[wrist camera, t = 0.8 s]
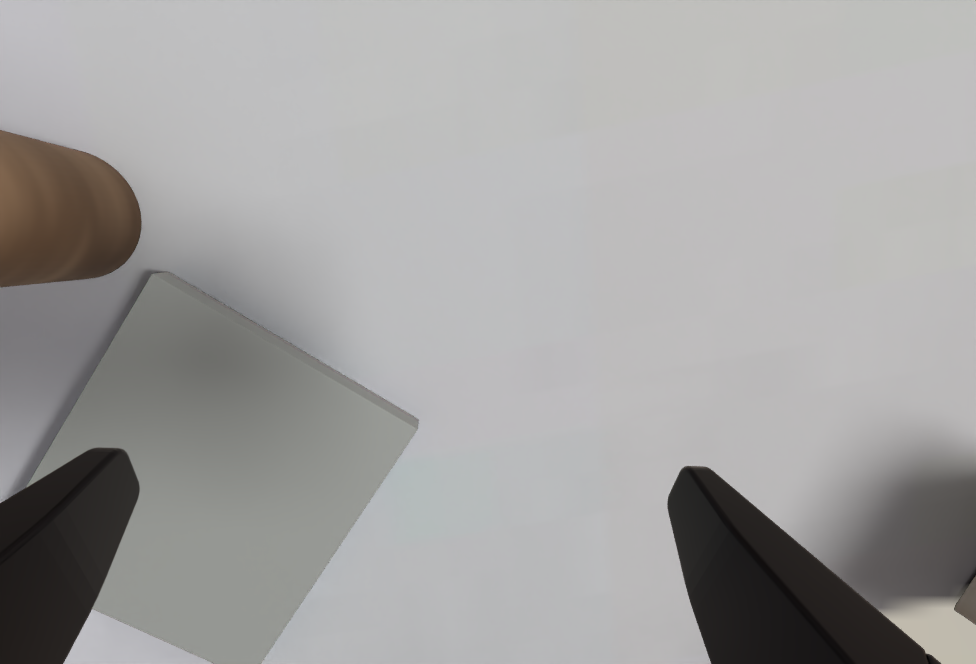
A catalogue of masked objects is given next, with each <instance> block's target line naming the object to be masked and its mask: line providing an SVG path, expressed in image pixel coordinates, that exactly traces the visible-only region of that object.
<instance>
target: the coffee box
mask: <svg viewBox="0 0 976 664" xmlns="http://www.w3.org/2000/svg"><path fill="white" fill-rule="evenodd" d="M954 610H955V611H956V612H958V613H959V614H961V615H963V616H964V617H965V618H967V619H968V620H970V621H971V622H973V623H974V624H976V575H975V577H974V579H973V580H972V581H971V583H970V584H969V586H968V587H967V589H966V590H965V592H964V593H963V595H962V596H961V598H960V599H959V601H958V602H957V603H956V605H955V608H954Z"/></svg>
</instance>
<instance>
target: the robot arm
mask: <svg viewBox="0 0 976 664" xmlns="http://www.w3.org/2000/svg"><path fill="white" fill-rule="evenodd" d="M139 493H140V485H139V481H138V478H137V476H136V473H135V471H134V468H133V466H132V463H131V461H130V458H129V456H128V454H127V452H126V451H125V450H123V449H121V448H103V447H97V448H92V449H89V450H87V451H86V452H84V453H82V454H81V455H79V456H77V457H76V458H74V459H72V460H71V461H69V462H67V463H66V464H64V465H63V466H61V467H59V468H58V469H56V470H54V471H53V472H51V473H49V474H48V475H46V476H45V477H43V478H41V479H40V480H38V481H36V482H35V483H33V484H31V485H30V486H28V487H26V488H25V489H23V490H22V491H20V492H18V493H17V494H15V495H13V496H12V497H10V498H8V499H7V500H5V501H4V502H2V503H0V664H63V663H64V661H65V659H66V657H67V656H68V654H69V652H70V650H71V648H72V646H73V644H74V642H75V640H76V638H77V637H78V635H79V633H80V631H81V629H82V627H83V625H84V623H85V621H86V620H87V618H88V616H89V614H90V612H91V610H92V608H93V606H94V604H95V602H96V600H97V598H98V596H99V593H100V591H101V589H102V586H103V584H104V582H105V580H106V577H107V575H108V572H109V570H110V567H111V565H112V562H113V560H114V557H115V555H116V552H117V550H118V547H119V545H120V542H121V540H122V537H123V535H124V533H125V530H126V528H127V525H128V523H129V520H130V518H131V515H132V513H133V510H134V508H135V505H136V503H137V500H138V497H139ZM667 505H668V512H669V517H670V521H671V525H672V529H673V534H674V538H675V542H676V546H677V551H678V555H679V559H680V563H681V568H682V572H683V576H684V581H685V585H686V588H687V592H688V596H689V599H690V602H691V605H692V609H693V612H694V615H695V618H696V621H697V623H698V626H699V629H700V632H701V635H702V638H703V641H704V644H705V647H706V650H707V653H708V656H709V658H710V661H711V664H941V663H940V662H939V661H938V660H936V659H935V658H934V657H933V656H932V655H930V654H926V653H925V650H924V649H923V648H922V647H921V646H920V645H918V644H917V643H916V642H915V641H914V640H912V639H911V638H910V637H909V636H908V635H907V634H905V633H904V632H903V631H902V630H901V629H899V628H898V627H897V626H896V625H895V624H893V623H892V622H891V621H890V620H889V619H888V618H886V617H885V616H884V615H883V614H882V613H881V612H879V611H878V610H877V609H876V608H875V607H873V606H872V605H871V604H870V603H869V602H868V601H866V600H865V599H864V598H863V597H862V596H860V595H859V594H858V593H857V592H856V591H855V590H853V589H852V588H851V587H850V586H849V585H847V584H846V583H845V582H844V581H843V580H842V579H840V578H839V577H838V576H837V575H836V574H834V573H833V572H832V571H831V570H830V569H828V568H827V567H826V566H825V565H824V564H823V563H821V562H820V561H819V560H818V559H817V558H815V557H814V556H813V555H812V554H811V553H810V552H808V551H807V550H806V549H805V548H804V547H802V546H801V545H800V544H799V543H798V542H797V541H795V540H794V539H793V538H792V537H791V536H789V535H788V534H787V533H786V532H785V531H783V530H782V529H781V528H780V527H779V526H778V525H776V524H775V523H774V522H773V521H772V520H770V519H769V518H768V517H767V516H766V515H765V514H763V513H762V512H761V511H760V510H759V509H757V508H756V507H755V506H754V505H753V504H752V503H750V502H749V501H748V500H747V499H746V498H744V497H743V496H742V495H741V494H740V493H739V492H737V491H736V490H735V489H734V488H733V487H731V486H730V485H729V484H728V483H727V482H725V481H724V480H723V479H722V478H721V477H720V476H718V475H717V474H716V473H715V472H714V471H712V470H711V469H709V468H707V467H702V466H685V467H684V468H682V469H681V471H680V473H679V475H678V477H677V479H676V481H675V483H674V485H673V488H672V490H671V492H670V494H669V497H668V504H667Z"/></svg>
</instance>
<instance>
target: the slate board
mask: <svg viewBox="0 0 976 664" xmlns="http://www.w3.org/2000/svg"><path fill="white" fill-rule="evenodd" d="M418 422H419V419H417V418H415V417H414V416H412V415H410V414H408V413H407V412H405V411H403V410H402V409H400V408H398V407H397V406H395V405H393V404H392V403H390V402H388V401H386V400H385V399H383V398H381V397H380V396H378V395H376V394H375V393H373V392H371V391H369V390H368V389H366V388H364V387H363V386H361V385H359V384H358V383H356V382H354V381H353V380H351V379H349V378H347V377H346V376H344V375H342V374H341V373H339V372H337V371H336V370H334V369H332V368H331V367H329V366H327V365H325V364H324V363H322V362H320V361H319V360H317V359H315V358H314V357H312V356H310V355H309V354H307V353H305V352H303V351H302V350H300V349H298V348H297V347H295V346H293V345H292V344H290V343H288V342H287V341H285V340H283V339H281V338H280V337H278V336H276V335H275V334H273V333H271V332H270V331H268V330H266V329H265V328H263V327H261V326H259V325H258V324H256V323H254V322H253V321H251V320H249V319H248V318H246V317H244V316H243V315H241V314H239V313H237V312H236V311H234V310H232V309H231V308H229V307H227V306H226V305H224V304H222V303H221V302H219V301H217V300H215V299H214V298H212V297H210V296H209V295H207V294H205V293H204V292H202V291H200V290H199V289H197V288H195V287H193V286H192V285H190V284H188V283H187V282H185V281H183V280H182V279H180V278H178V277H176V276H175V275H173V274H171V273H170V272H163V273H153V274H152V275H151V276H150V278H149V280H148V281H147V283H146V285H145V287H144V288H143V290H142V292H141V293H140V295H139V297H138V298H137V300H136V302H135V303H134V305H133V307H132V309H131V310H130V312H129V314H128V315H127V317H126V319H125V320H124V322H123V324H122V325H121V327H120V329H119V331H118V332H117V334H116V336H115V337H114V339H113V341H112V342H111V344H110V346H109V348H108V349H107V351H106V353H105V354H104V356H103V358H102V359H101V361H100V363H99V364H98V366H97V368H96V370H95V371H94V373H93V375H92V376H91V378H90V380H89V381H88V383H87V385H86V387H85V388H84V390H83V392H82V393H81V395H80V397H79V398H78V400H77V402H76V403H75V405H74V407H73V409H72V410H71V412H70V414H69V415H68V417H67V419H66V420H65V422H64V424H63V425H62V427H61V429H60V431H59V432H58V434H57V436H56V437H55V439H54V441H53V442H52V444H51V446H50V448H49V449H48V451H47V453H46V454H45V456H44V458H43V459H42V461H41V463H40V464H39V466H38V468H37V470H36V471H35V473H34V475H33V476H32V478H31V480H30V481H29V483H28V485H27V486H26V487H28V486H30V485H31V484H33V483H35V482H36V481H38V480H40V479H41V478H43V477H45V476H46V475H48V474H49V473H51V472H53V471H54V470H56V469H58V468H59V467H61V466H63V465H64V464H66V463H67V462H69V461H71V460H72V459H74V458H76V457H77V456H79V455H81V454H82V453H84V452H86V451H87V450H89V449H92V448H97V447H103V448H121V449H123V450H125V451H126V452H127V454H128V456H129V458H130V461H131V463H132V466H133V468H134V471H135V473H136V476H137V478H138V481H139V485H140V493H139V497H138V500H137V503H136V505H135V508H134V510H133V513H132V515H131V518H130V520H129V523H128V525H127V528H126V530H125V533H124V535H123V537H122V540H121V542H120V545H119V547H118V550H117V552H116V555H115V557H114V560H113V562H112V565H111V567H110V570H109V572H108V575H107V577H106V580H105V582H104V584H103V586H102V589H101V591H100V593H99V596H98V598H97V600H96V602H95V604H94V606H93V608H92V609H94V610H96V611H98V612H100V613H103V614H105V615H107V616H109V617H111V618H114V619H116V620H118V621H120V622H123V623H125V624H127V625H129V626H132V627H134V628H136V629H138V630H140V631H143V632H145V633H147V634H149V635H152V636H154V637H156V638H158V639H161V640H163V641H165V642H167V643H169V644H172V645H174V646H176V647H178V648H181V649H183V650H185V651H187V652H190V653H192V654H194V655H196V656H198V657H201V658H203V659H205V660H207V661H210V662H212V663H214V664H261V663H262V661H263V660H264V658H265V657H266V655H267V654H268V653H269V651H270V650H271V648H272V647H273V645H274V644H275V642H276V641H277V639H278V638H279V636H280V635H281V633H282V632H283V630H284V629H285V627H286V626H287V624H288V623H289V621H290V620H291V618H292V617H293V615H294V614H295V612H296V611H297V609H298V608H299V606H300V605H301V603H302V602H303V600H304V599H305V597H306V596H307V594H308V593H309V591H310V590H311V588H312V587H313V585H314V584H315V582H316V581H317V579H318V578H319V576H320V575H321V573H322V572H323V570H324V569H325V567H326V566H327V564H328V563H329V561H330V560H331V558H332V557H333V555H334V554H335V552H336V551H337V549H338V548H339V546H340V545H341V543H342V542H343V540H344V539H345V537H346V536H347V534H348V533H349V531H350V530H351V528H352V527H353V525H354V524H355V522H356V521H357V519H358V518H359V516H360V515H361V513H362V512H363V510H364V509H365V507H366V506H367V504H368V503H369V501H370V500H371V498H372V497H373V495H374V494H375V493H376V491H377V490H378V488H379V487H380V485H381V484H382V482H383V481H384V479H385V478H386V476H387V475H388V473H389V472H390V470H391V469H392V467H393V466H394V464H395V463H396V461H397V460H398V458H399V457H400V455H401V454H402V452H403V451H404V449H405V448H406V446H407V445H408V443H409V442H410V440H411V439H412V437H413V436H414V434H415V433H416V431H417V430H418Z"/></svg>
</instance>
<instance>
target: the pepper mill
mask: <svg viewBox="0 0 976 664" xmlns="http://www.w3.org/2000/svg"><path fill="white" fill-rule="evenodd" d="M140 232H141V213H140V209H139V205H138V202H137V199H136V197H135V194H134V192H133V191H132V189H131V187H130V186H129V184H128V183H127V181H126V180H125V179H124V178H123V177H122V175H121V174H120V173H119V172H118V171H117V170H115V169H114V168H113V167H112V166H111V165H109V164H108V163H106V162H105V161H103V160H101V159H99V158H98V157H96V156H93V155H91V154H88V153H85V152H81V151H78V150H74V149H70V148H66V147H63V146H59V145H55V144H51V143H47V142H44V141H40V140H36V139H32V138H28V137H25V136H21V135H17V134H13V133H9V132H5V131H2V130H0V287H9V286H19V285H29V284H40V283H50V282H60V281H71V280H81V279H90V278H96V277H100V276H104V275H106V274H109V273H111V272H113V271H114V270H116V269H118V268H119V267H120V266H122V265H123V264H124V263H125V262H126V261H127V260H128V259H129V258H130V256H131V255H132V253H133V252H134V250H135V248H136V246H137V244H138V241H139V237H140Z"/></svg>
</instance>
